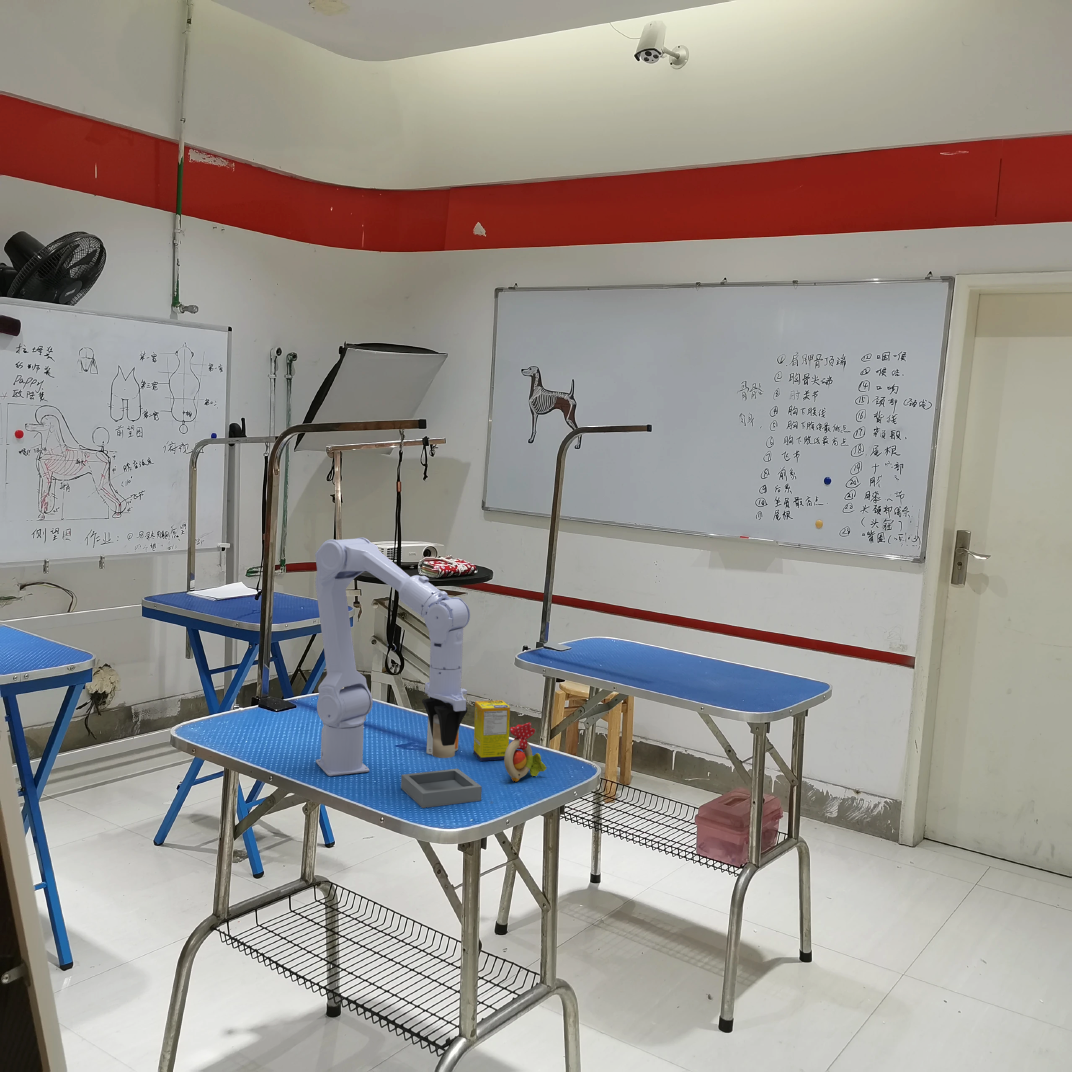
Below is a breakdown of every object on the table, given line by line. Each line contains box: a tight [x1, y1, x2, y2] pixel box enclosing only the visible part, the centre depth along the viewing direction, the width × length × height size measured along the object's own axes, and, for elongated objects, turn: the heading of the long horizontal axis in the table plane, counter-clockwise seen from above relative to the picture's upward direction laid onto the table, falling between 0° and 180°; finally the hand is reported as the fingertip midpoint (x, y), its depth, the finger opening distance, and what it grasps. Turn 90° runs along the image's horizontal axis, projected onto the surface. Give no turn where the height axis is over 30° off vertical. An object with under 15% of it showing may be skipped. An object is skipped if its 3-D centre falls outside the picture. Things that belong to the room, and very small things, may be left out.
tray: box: [400, 768, 483, 809], centre depth 179 cm, size 11×11×2 cm
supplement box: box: [473, 699, 511, 762], centre depth 203 cm, size 6×6×11 cm
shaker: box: [431, 714, 456, 759], centre depth 179 cm, size 4×4×7 cm
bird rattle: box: [503, 721, 548, 783], centre depth 190 cm, size 6×11×9 cm
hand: (443, 741), depth 179 cm, fingers closed on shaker, 4 cm apart
